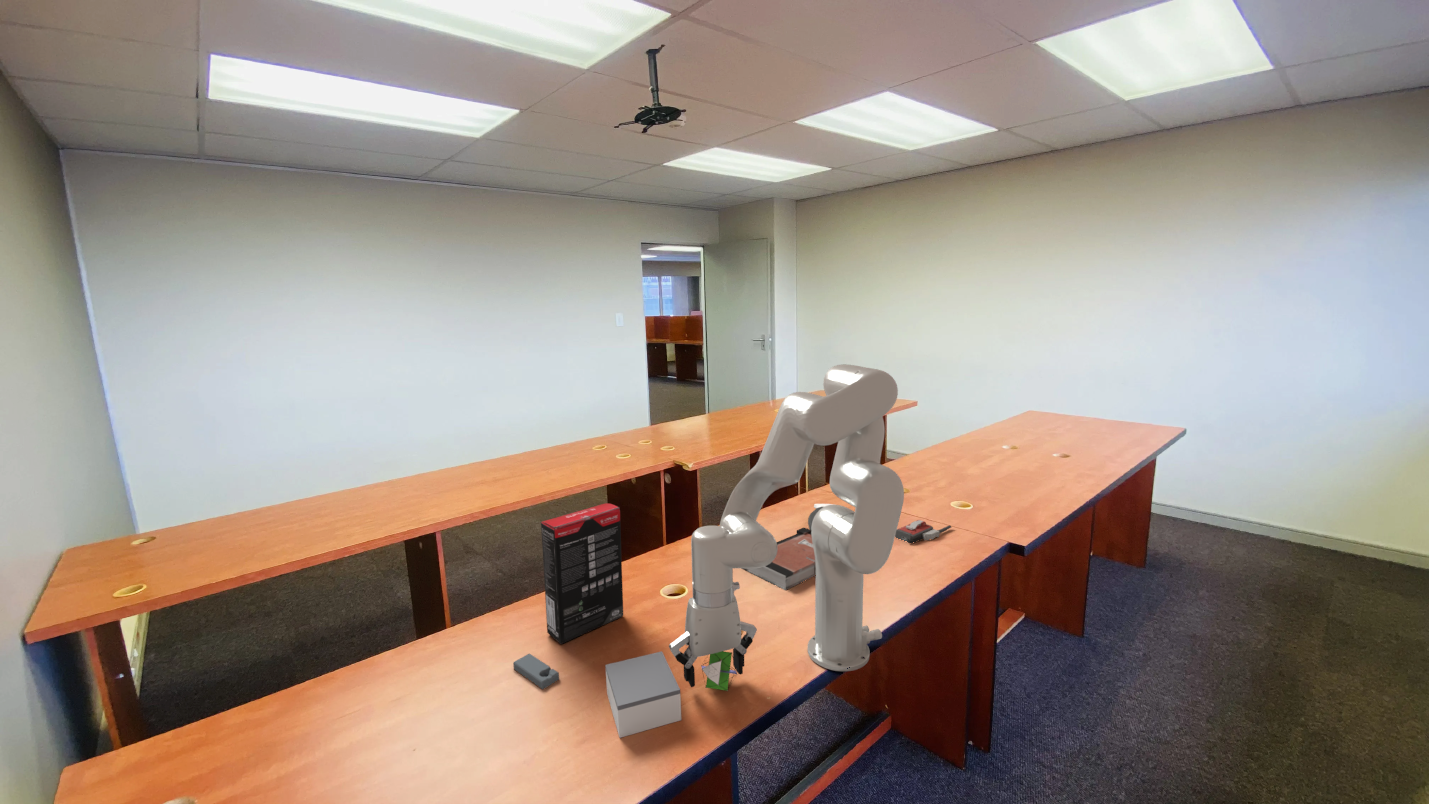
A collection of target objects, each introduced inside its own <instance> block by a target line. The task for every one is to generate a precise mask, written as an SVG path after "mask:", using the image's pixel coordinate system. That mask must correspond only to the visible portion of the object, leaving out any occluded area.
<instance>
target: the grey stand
mask: <svg viewBox="0 0 1429 804" xmlns="http://www.w3.org/2000/svg"><path fill="white" fill-rule="evenodd" d="M604 666H605V677H606V678H605V682H606V694H607V695H606V696H607V698H608V701H609V705H610V708H611V713H612V716H613V719H614V724H615V726H616V730H617V734H618V737H619V738H623V737H627V736H631V735H635V734H638V733H641V732H645V731H648V730H652V729H656V728H659V727H662V726H666V725H668V724H673V723H676V722H679V721H682V701H681V699H682V698H681V689H680V687H679V684H678V682H677V680H676V677H675V675H674V674H673V672H672V669H671V668H670V665H669V663H668V661H667V659H666V657H665V654H664V652H663V651H658V652H653V653H649V654H645V655H641V656H637V657H633V658H628V659H624V660H620V661H615V662H611V663H608V664H605V665H604Z"/></svg>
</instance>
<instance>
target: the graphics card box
mask: <svg viewBox="0 0 1429 804" xmlns="http://www.w3.org/2000/svg"><path fill="white" fill-rule="evenodd" d="M540 529H541V531H540V532H541V545H542V546H541V547H542V562H543V576H544V577H543V578H544V595H545V596H544V598H545V613H546V618H545V619H546V631H547V632H546V633H547V634H548V635H549V636H551V637H552V638H553V639H554V640H555V641H556V642H557V643H559V644H560V645H563V644H564V643H567V642H569V641H571V640H574V639H575V638H578V637H580V636H583V635H584V634H586V633H589V632H592V631H594V630H596V629H598V628H600V627H602V626H604V625H607V624H609V623H612V622H614V621H616V620H617V619H620V618H622V617H623V616H624V597H623V596H624V594H623V593H624V592H623V591H624V590H623V566H622V565H623V564H622V563H623V562H622V538H621V537H622V535H621V534H622V533H621V531H622V530H621V510H620V506H618V505H615V504H612V503H607V502H606V503H601V504H598V505H595V506H592V507H588V508H585V509H581V510H577V511H575V512H570V513H568V514H567V513H566V514H563V515H560V516H557V517H553V518H550V519H546V520H543V521H541V522H540Z"/></svg>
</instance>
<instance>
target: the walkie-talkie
mask: <svg viewBox="0 0 1429 804" xmlns="http://www.w3.org/2000/svg"><path fill="white" fill-rule="evenodd" d="M951 528H952V526H951V525H947V526H945V527H943V528H940V529H934V527H933V525H930V524H927V523H926V521H924V520H920V519H917V520H914V521H913V522H911V523H909V524H907V525H904V526H902V527H899V528H897V530H896V534H895V537H896V538H898V540H899V539H901V540H900V541H902V540H904V541H903V542H905V541H907V542H908V543H907V542H906V543H907V544H910V543H913V542H916V541H918V540H920V541H922V540H921V539H924V540H923V541H930V540H929V539H932V540H934V538H935V537H937V538H940V534H942V533H943V532H945V531H947V530H949V529H951ZM896 538H895V539H896ZM935 539H936V538H935ZM918 542H919V541H918ZM916 543H917V542H916ZM913 544H914V543H913Z"/></svg>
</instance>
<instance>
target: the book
mask: <svg viewBox="0 0 1429 804" xmlns="http://www.w3.org/2000/svg"><path fill="white" fill-rule="evenodd" d="M776 542H777V547H778V550H777V555H776V557H775V559H774V560H773V561H772V562H771V563H770V564H768V565H767V566H764V567H761V568H754V569H745V568H740V569H741V570H743V571H745V572H747V573H749V574H751V575H753V576H755V577H757V578H759V579H761V580H764V581H765V582H767V581H768V582H767V583H769V582H770V583H769V584H771V585H773V586H775V585H776V586H775V587H776V588H778V589H779V588H780V589H781V590H783V591H788V590H790V589H791V588H794V587H795V586H798V585H800V584H802V583H804V582H806V581H807V579H808V580H810V579H812V578H814V577H816V576H815V575H816V568H815V555H814V548H813V543H812V535H811V530H810V529H809V528H806V527H802V528H799V529H797V530H796V534H793V535H792V536H789V537H786V538H784V539H781V540H779V541H776ZM813 576H814V577H813ZM811 577H812V578H811ZM809 578H810V579H809ZM805 580H806V581H805ZM803 581H804V582H803ZM801 582H802V583H801Z"/></svg>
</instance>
